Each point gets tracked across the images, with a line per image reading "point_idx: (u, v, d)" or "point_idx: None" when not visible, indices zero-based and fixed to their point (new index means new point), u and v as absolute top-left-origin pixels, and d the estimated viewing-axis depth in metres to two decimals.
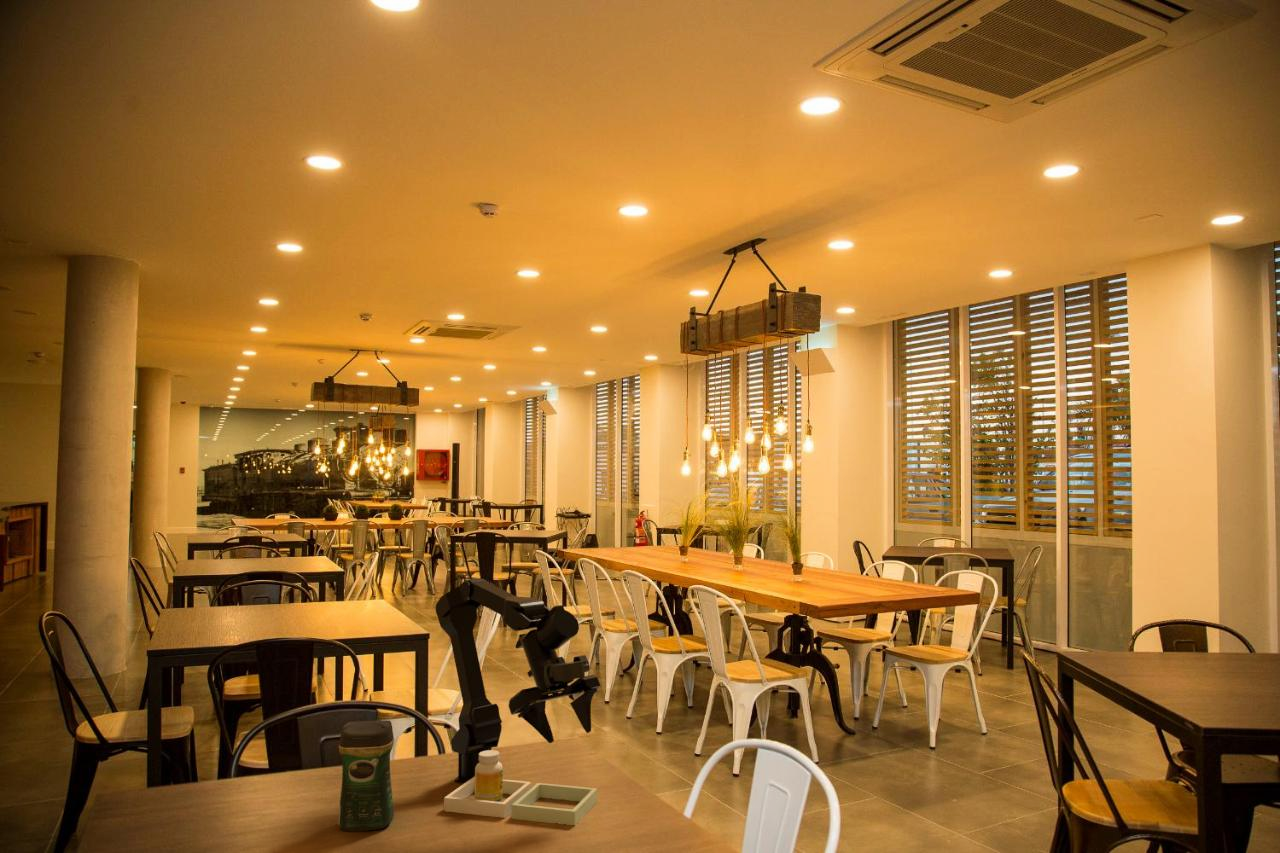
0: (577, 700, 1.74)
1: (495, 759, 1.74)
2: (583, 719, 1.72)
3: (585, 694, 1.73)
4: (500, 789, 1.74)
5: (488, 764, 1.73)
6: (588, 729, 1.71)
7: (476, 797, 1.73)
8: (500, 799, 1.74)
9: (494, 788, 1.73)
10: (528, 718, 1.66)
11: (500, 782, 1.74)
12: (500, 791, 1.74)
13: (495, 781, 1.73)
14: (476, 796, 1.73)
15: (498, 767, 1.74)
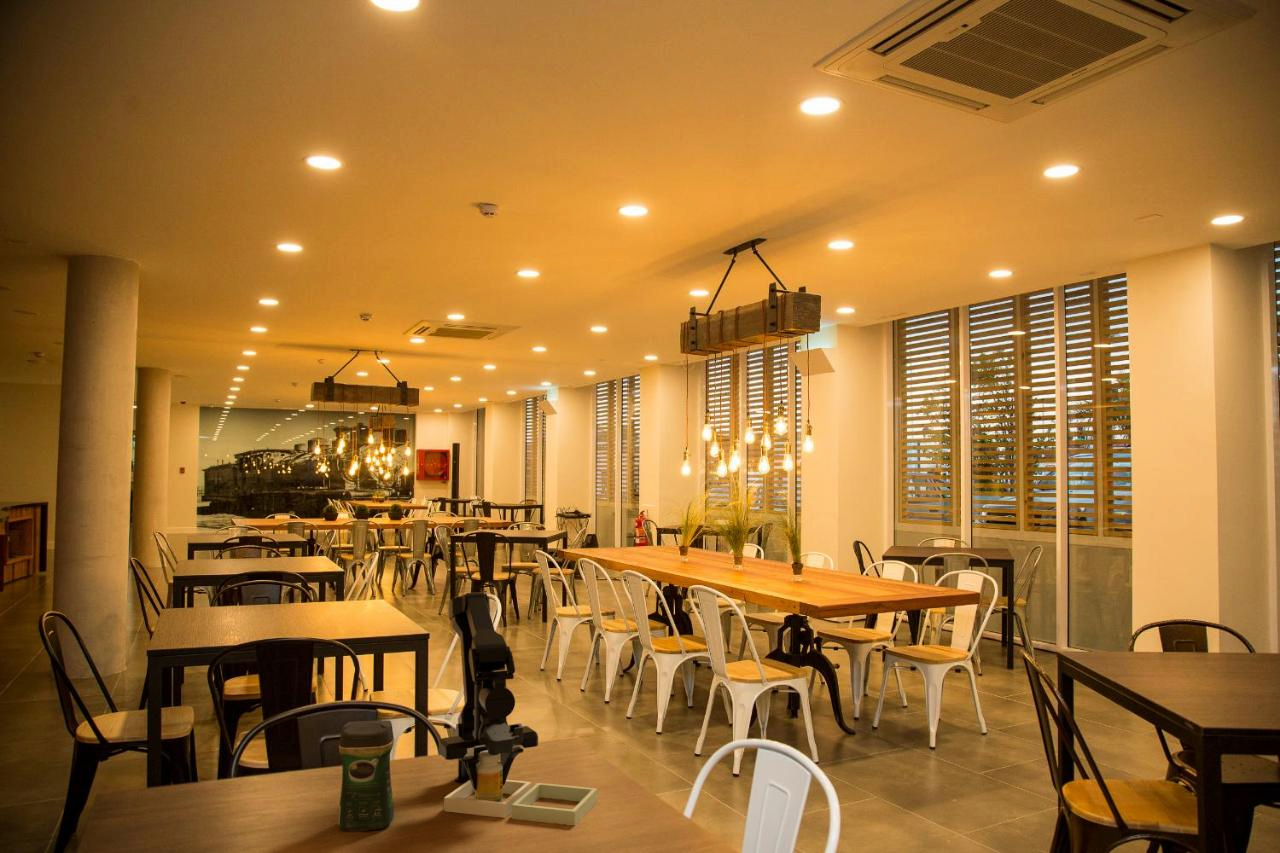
0: None
1: (495, 759, 1.74)
2: None
3: (509, 753, 1.75)
4: (500, 789, 1.74)
5: (488, 764, 1.73)
6: None
7: (476, 797, 1.73)
8: (500, 799, 1.74)
9: (494, 788, 1.73)
10: None
11: (500, 782, 1.74)
12: (500, 791, 1.74)
13: (495, 781, 1.73)
14: (476, 796, 1.73)
15: (498, 767, 1.74)
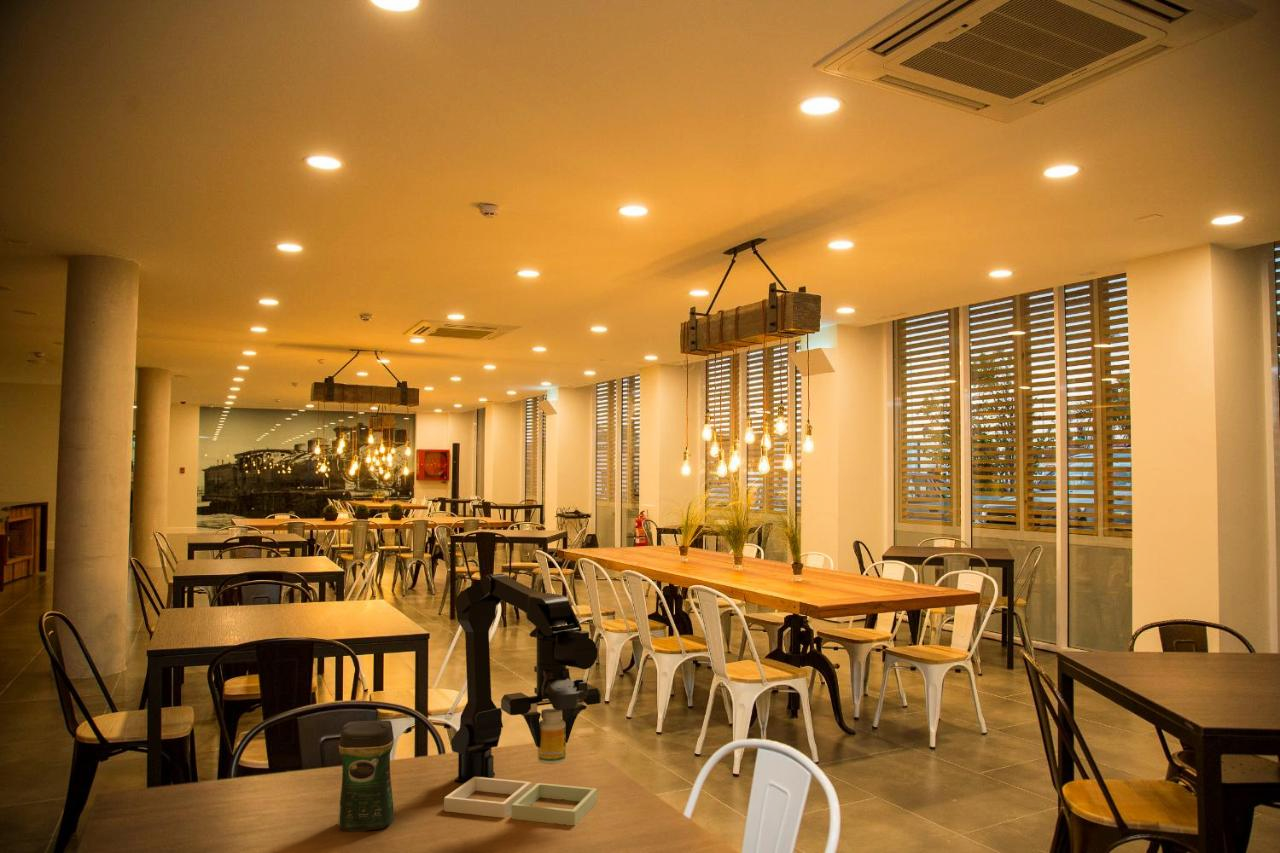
0: None
1: (558, 716, 1.70)
2: None
3: (572, 710, 1.71)
4: (564, 746, 1.70)
5: (552, 721, 1.70)
6: None
7: (539, 754, 1.70)
8: (564, 756, 1.70)
9: (558, 745, 1.69)
10: None
11: (563, 739, 1.70)
12: (564, 748, 1.70)
13: (559, 737, 1.69)
14: (539, 753, 1.70)
15: (562, 724, 1.70)
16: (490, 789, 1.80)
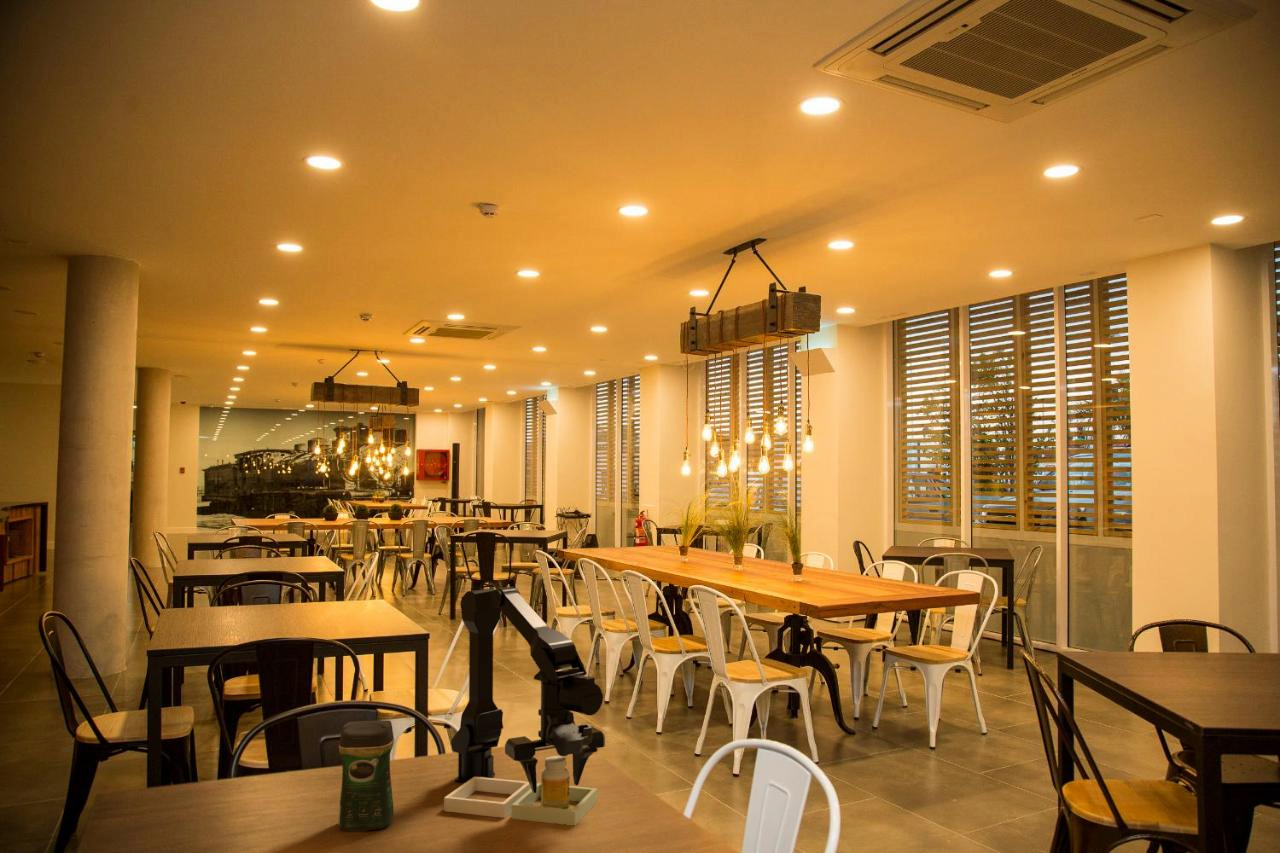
0: None
1: (562, 766, 1.70)
2: (575, 770, 1.73)
3: (583, 752, 1.72)
4: (567, 796, 1.70)
5: (556, 770, 1.69)
6: (575, 782, 1.73)
7: (543, 804, 1.69)
8: (567, 806, 1.70)
9: (561, 795, 1.69)
10: None
11: (567, 789, 1.70)
12: (567, 798, 1.70)
13: (562, 787, 1.69)
14: (543, 803, 1.69)
15: (565, 773, 1.70)
16: (490, 789, 1.80)
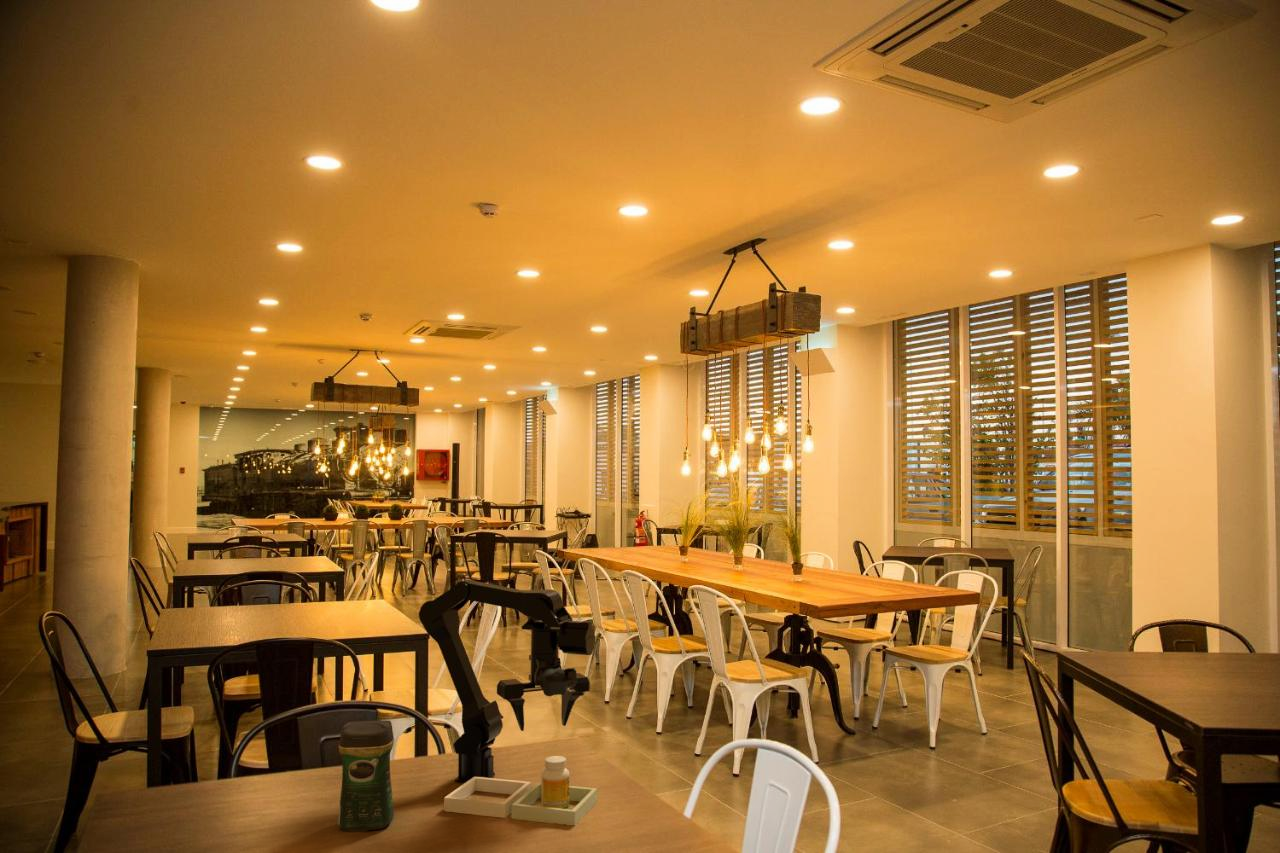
0: None
1: (562, 766, 1.70)
2: (563, 712, 1.87)
3: (570, 695, 1.85)
4: (567, 796, 1.70)
5: (556, 770, 1.69)
6: (563, 723, 1.87)
7: (543, 804, 1.69)
8: (567, 806, 1.70)
9: (561, 795, 1.69)
10: None
11: (567, 789, 1.70)
12: (567, 798, 1.70)
13: (563, 787, 1.69)
14: (543, 803, 1.69)
15: (566, 774, 1.70)
16: (490, 789, 1.80)
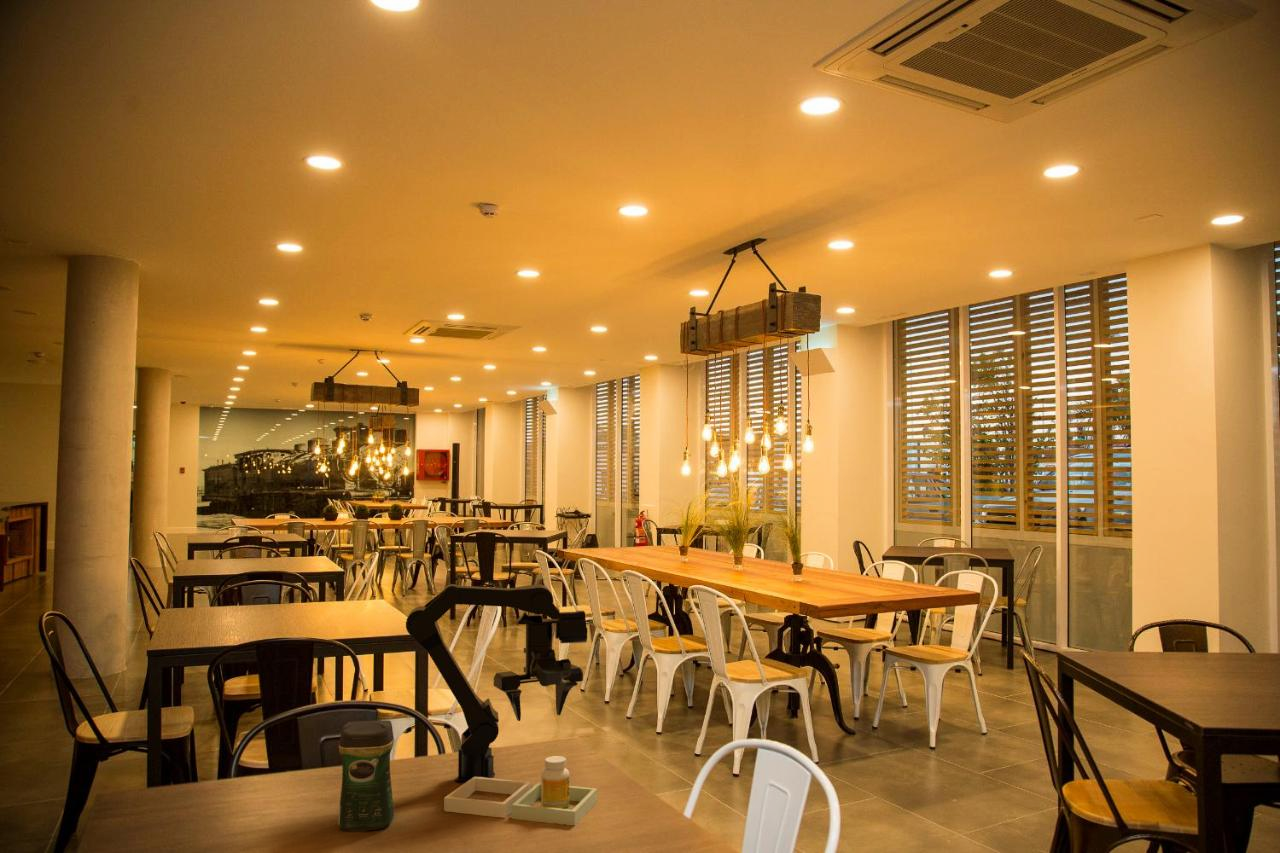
0: (559, 683, 1.95)
1: (562, 766, 1.70)
2: (557, 702, 1.94)
3: (564, 686, 1.93)
4: (567, 796, 1.70)
5: (556, 770, 1.69)
6: (558, 713, 1.94)
7: (543, 804, 1.69)
8: (567, 806, 1.70)
9: (561, 795, 1.69)
10: (507, 692, 1.90)
11: (567, 789, 1.70)
12: (567, 798, 1.70)
13: (562, 787, 1.69)
14: (543, 803, 1.69)
15: (565, 773, 1.70)
16: (490, 789, 1.80)
